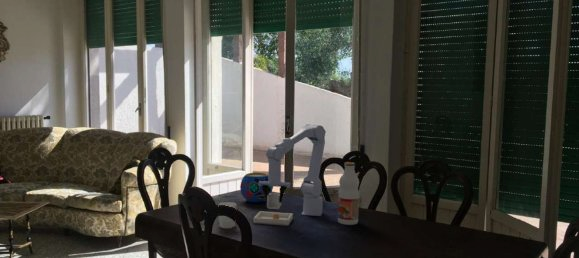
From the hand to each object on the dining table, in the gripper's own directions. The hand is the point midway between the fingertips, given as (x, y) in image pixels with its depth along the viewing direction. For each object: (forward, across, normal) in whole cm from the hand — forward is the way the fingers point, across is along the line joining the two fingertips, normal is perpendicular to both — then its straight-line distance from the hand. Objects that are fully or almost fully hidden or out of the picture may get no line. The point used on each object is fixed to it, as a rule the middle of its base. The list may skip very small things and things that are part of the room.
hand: (274, 201), depth 216 cm
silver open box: (+3, 0, 0) cm, 3 cm away
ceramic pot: (+9, -17, +34) cm, 39 cm away
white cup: (+9, -18, -14) cm, 25 cm away
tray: (+9, 0, 0) cm, 9 cm away
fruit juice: (+9, +34, +6) cm, 36 cm away
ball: (+7, +2, -2) cm, 7 cm away
